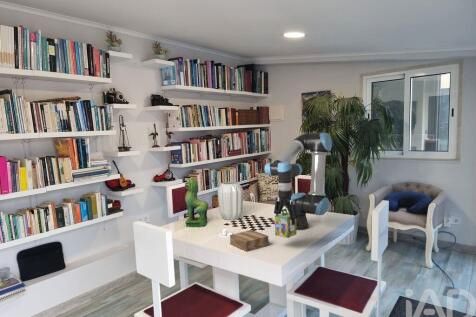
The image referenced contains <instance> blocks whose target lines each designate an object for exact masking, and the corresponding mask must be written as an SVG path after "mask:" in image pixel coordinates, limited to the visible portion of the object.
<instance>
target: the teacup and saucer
mask: <svg viewBox="0 0 476 317" xmlns="http://www.w3.org/2000/svg"><path fill="white" fill-rule="evenodd" d="M232 234H233V232H228V228H227V229H226V228H222V229H221V231H220V233H219V234H218V237H220V238H224V237H225V238H230V235H232Z"/></svg>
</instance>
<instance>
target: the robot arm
mask: <svg viewBox="0 0 476 317" xmlns="http://www.w3.org/2000/svg"><path fill="white" fill-rule="evenodd" d="M332 147H333V141H332V137H331V135H330V134H329V133H328V132H305V133H302V134H300V135H299V136H297V137H295V138H294V139H292V141H291V142H290V145H289V146H288V147H287V148H286V149H285V150H284V151H283V152H282V153H281V154H280V155H278V157H277V158H276V159H275V160H274V161H272V162H268V163H266V164H265V165H264V173H265V175H266V176H272V177H276V176H277V182H278V185H277V186H278V188H277V189H278V192H277V193H278V195H277V196H278V197H275V203H274V210H273V214H275V215H278V214H281V213H282V210H283V208H284V207H285V209H287V213H289V215H290V217H291V219H290V231H293V230H295V219H296V231H300V230H307V229H309V228H308V227H310V226H309V225H310V224H309V222H308V217H307V214H308V215H315V216H324V215H325V214H326V213H327V211H328V208H329V204H330V201H329V198H327V197H326V196H327V195H326V193H325V192H324V189H325V171H326V158H327V157H326V156H327V155H328V154H329V151H331V150H332ZM304 151H310V155H311V170H310V171H311V174H310V188H309V189H310V190H309V191H308V193H307V194H306V193H305V192H296V193H293V191H292V188H293V186H292V184H293V183H292V178H295V177H298V176H301V174H302V173H303V168H302V165H301V164H300V163H291V161H293V160H294V158H296V157H297V155H299V154H301V153H302V152H304ZM295 216H296V217H295Z"/></svg>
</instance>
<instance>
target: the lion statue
mask: <svg viewBox="0 0 476 317" xmlns="http://www.w3.org/2000/svg"><path fill="white" fill-rule="evenodd" d="M184 187H185V189H186V190H187V191H186V193H185V195H184V196H185V197H184V201H185V204H186V208H187V212H188V218H187V219H186V220H185V227H186V228H201V227H205V226H206V224H207V223H208V216H207V215H208V208H209V203H208V202H207V201H205V200H200V199H198V192H199V183H198V181H197V179H195V178H194V177H193V176H191V177H190V178H188V179H187V181H186V182H184ZM195 212H196V214H198V215H199V216H197V217H196V216H195Z"/></svg>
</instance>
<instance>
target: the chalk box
mask: <svg viewBox="0 0 476 317" xmlns="http://www.w3.org/2000/svg"><path fill="white" fill-rule="evenodd" d="M295 217H296V216H295ZM290 219H291V217H290V215H289V212H288V210H287V208H284V209H282V212H281V214H278V215H276V214H275V215H274V231H275V233H274V234H275V236H278V237H284V238H286V239H290V238H291V237H293V236H295V235H297V230H296V219H295V230H293V231H290Z"/></svg>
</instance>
